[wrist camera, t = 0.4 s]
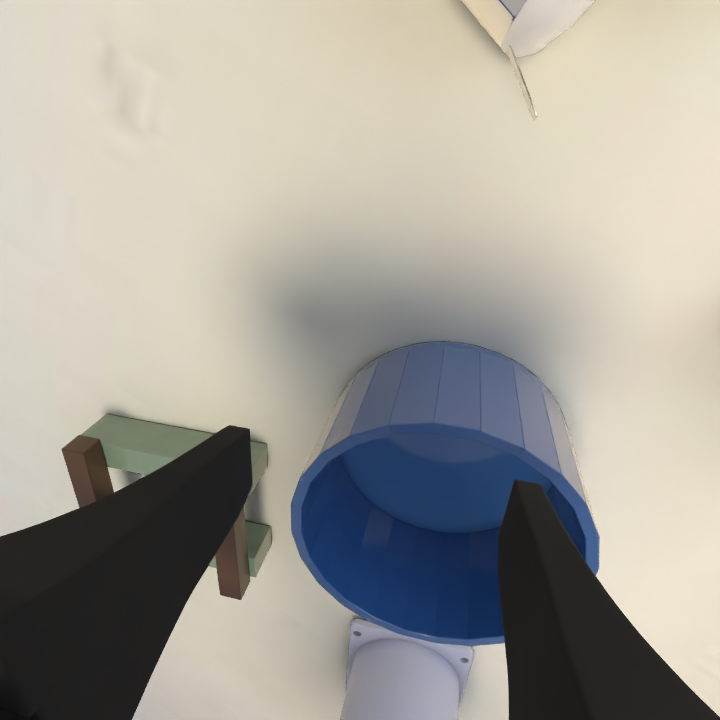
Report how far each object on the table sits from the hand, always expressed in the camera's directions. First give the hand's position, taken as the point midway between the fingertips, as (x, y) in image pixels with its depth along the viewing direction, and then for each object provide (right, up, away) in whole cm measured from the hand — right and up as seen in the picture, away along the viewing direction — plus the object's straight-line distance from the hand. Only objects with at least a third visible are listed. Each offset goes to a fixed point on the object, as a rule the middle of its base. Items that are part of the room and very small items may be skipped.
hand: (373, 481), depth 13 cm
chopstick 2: (-7, -6, +13) cm, 16 cm away
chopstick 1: (-15, -5, +15) cm, 21 cm away
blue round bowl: (+4, -1, +11) cm, 12 cm away
